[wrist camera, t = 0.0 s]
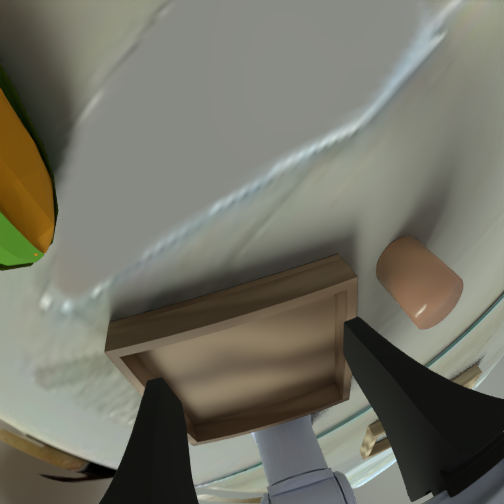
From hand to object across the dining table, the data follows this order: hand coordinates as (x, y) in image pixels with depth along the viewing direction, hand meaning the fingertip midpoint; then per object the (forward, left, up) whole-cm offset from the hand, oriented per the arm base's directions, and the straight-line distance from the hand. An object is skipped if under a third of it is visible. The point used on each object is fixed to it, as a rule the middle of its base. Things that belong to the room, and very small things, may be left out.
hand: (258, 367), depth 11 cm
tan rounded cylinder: (-7, -14, -10) cm, 19 cm away
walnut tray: (-13, +1, -10) cm, 16 cm away
